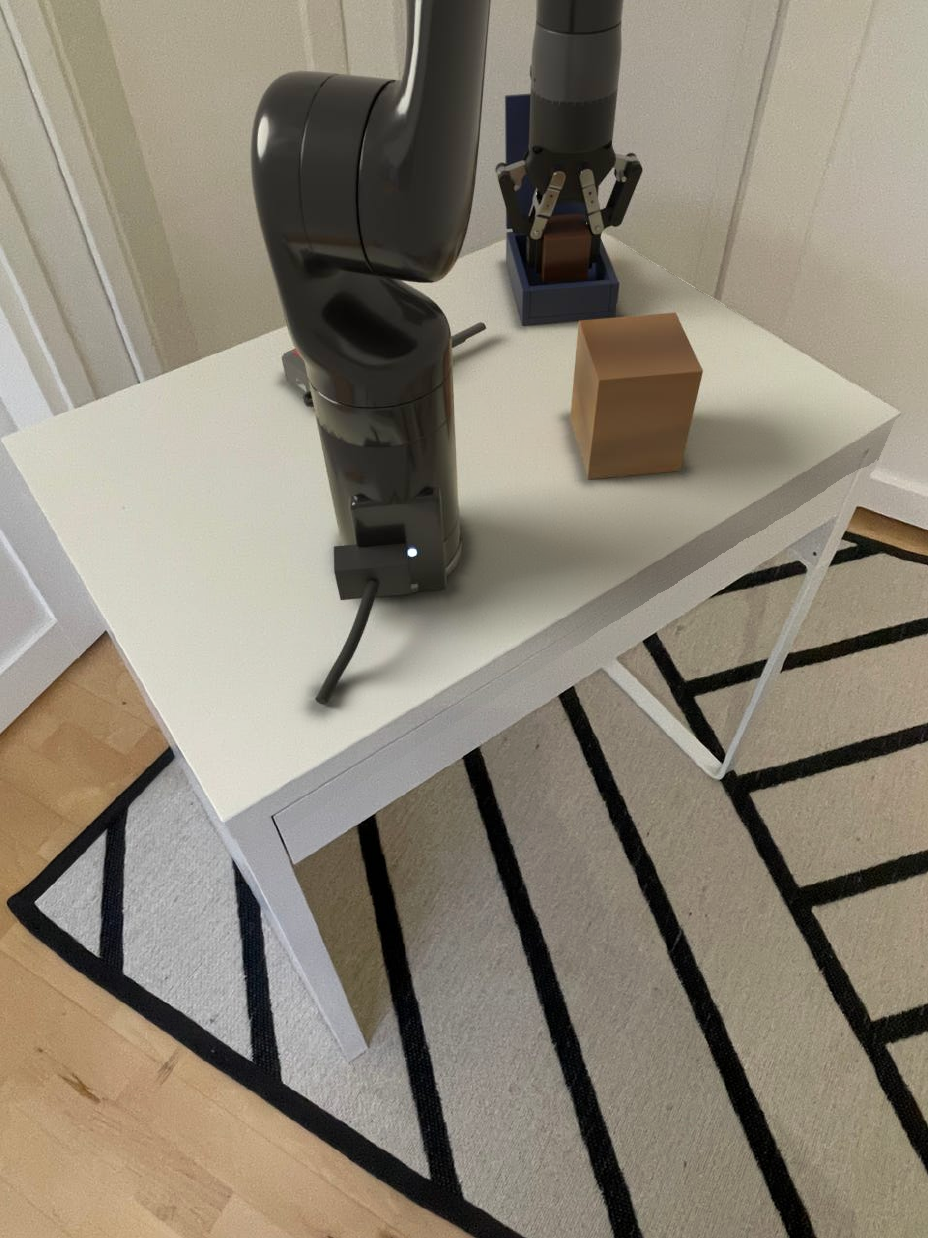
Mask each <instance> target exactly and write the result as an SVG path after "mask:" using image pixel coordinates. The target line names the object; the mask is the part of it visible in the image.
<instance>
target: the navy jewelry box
mask: <svg viewBox="0 0 928 1238" xmlns="http://www.w3.org/2000/svg"><path fill="white" fill-rule="evenodd" d="M505 236H506V239H505V244H506V245H505V267H506V271H507V275H508V278H509V283H510V286H511V290H512V293H513V297H514V302H515V305H516V309H517V313H518V316H519V320H520V324H521V326H532V325H544V324H555V323H567V322H568V323H569V322H579V321H581V320H593V319H604V318H616V316H617V314H616V313H617V308H618V307H617V306H618V300H619V299H618V298H619V289H620V281H619V278H618V276H617V274H616V271H615V269H614V266H613V264H612V262H611V259H610V256H609V254H608V252H607V249H606V247H605V245H604V242H603V240H602V238H601V242H600V252H599V259H598V261H597V263H593V264H592V269H588V279H584V280H573V281H561V282H549V283H543V280H542V277H541V273H535V272H534V268H530V266H529V264H528V260H527V257H526V251H527V235H525V234H522V233H521V234H519V235H517V234H514V233H513V231H507V232H506V235H505Z"/></svg>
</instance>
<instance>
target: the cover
mask: <svg viewBox="0 0 928 1238" xmlns="http://www.w3.org/2000/svg"><path fill="white" fill-rule="evenodd" d="M530 94H531V92H529V93H518V94H506V95H505V94H504V144H505V145H504V152H505V156H504V157H505V158H504V159H505V162H504V163H505V164H507V166H508V165H511V164H514V163H516V162H519V161H522V160H523V157H524V154H525V153H526V151H527V148H528V145H529V127H530ZM521 183H522V184H521V188H520V189H519V190H517V191H515V194H516V197H517V201H518V205H519V208H520V212H521V214H523V215H527V216H528V215H529V212H530V209H531V207H532V203H533V196H534V193H535V190H536V186H535V185H534V184H533V182H532V181H531V179H530V178H529V177H528V175H527V174H525V175H524V176H523V177H522V180H521ZM599 191H600V186H599V187H598V188H597V189H596V192H597V196H598V197H599ZM572 214H583V216H584V219H585V221H586V224H587V217H586V213H585V209H584V205H583V202H579V203H576V202H571V201H568V202H565V203H562V204H555V206H554V209H553V212H552V214H551V216H560V215H572ZM505 229H506V230H512V228H511V224H510V221H509V217H508V214H507V210H506V209H505Z"/></svg>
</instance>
